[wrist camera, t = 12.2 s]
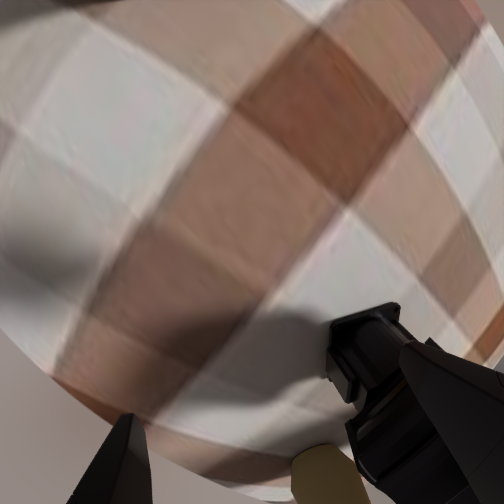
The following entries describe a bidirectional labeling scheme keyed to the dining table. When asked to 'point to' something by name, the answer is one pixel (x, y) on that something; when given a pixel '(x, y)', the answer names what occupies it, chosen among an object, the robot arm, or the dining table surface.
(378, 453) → the robot arm
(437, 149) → the dining table surface
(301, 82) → the dining table surface
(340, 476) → the squeeze bottle
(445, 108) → the dining table surface
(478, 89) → the dining table surface
